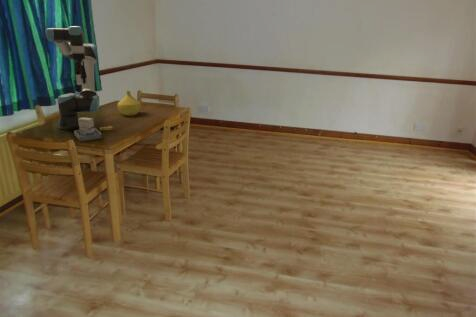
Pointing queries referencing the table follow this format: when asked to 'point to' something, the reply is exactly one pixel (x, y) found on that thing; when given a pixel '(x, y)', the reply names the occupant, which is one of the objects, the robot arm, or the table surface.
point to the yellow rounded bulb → (129, 105)
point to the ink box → (86, 126)
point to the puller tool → (106, 128)
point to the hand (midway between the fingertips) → (82, 86)
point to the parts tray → (89, 137)
